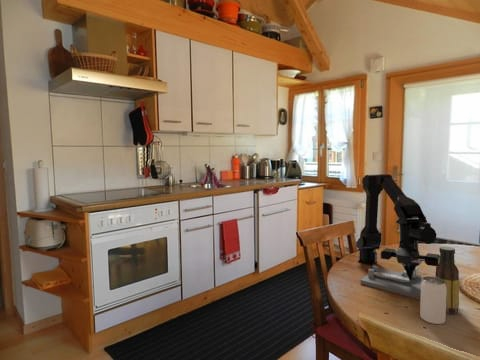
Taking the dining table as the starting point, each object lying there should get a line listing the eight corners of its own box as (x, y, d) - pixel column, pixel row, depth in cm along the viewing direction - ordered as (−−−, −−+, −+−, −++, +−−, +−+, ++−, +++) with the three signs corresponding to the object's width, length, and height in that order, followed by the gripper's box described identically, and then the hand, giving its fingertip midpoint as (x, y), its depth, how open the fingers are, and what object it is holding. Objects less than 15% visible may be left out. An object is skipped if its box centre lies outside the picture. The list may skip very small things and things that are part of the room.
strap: (370, 275, 124) (370, 272, 124) (373, 273, 126) (373, 270, 126) (408, 283, 115) (408, 279, 115) (411, 280, 117) (411, 277, 117)
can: (436, 327, 90) (438, 286, 89) (415, 317, 96) (416, 278, 95) (450, 321, 93) (451, 281, 92) (428, 311, 99) (429, 274, 98)
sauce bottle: (453, 305, 102) (455, 245, 101) (462, 315, 96) (465, 251, 95) (431, 304, 104) (433, 244, 102) (438, 313, 98) (441, 250, 96)
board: (360, 283, 121) (360, 272, 120) (376, 270, 133) (376, 260, 133) (426, 301, 106) (426, 288, 106) (437, 284, 118) (437, 273, 118)
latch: (401, 278, 120) (402, 269, 120) (406, 273, 125) (406, 264, 125) (413, 281, 118) (413, 271, 117) (418, 275, 123) (418, 266, 122)
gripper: (374, 239, 115) (376, 281, 116) (433, 245, 103) (435, 293, 104) (384, 233, 124) (386, 273, 124) (440, 238, 111) (442, 282, 112)
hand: (410, 279), depth 116 cm, fingers closed, pressing on strap
